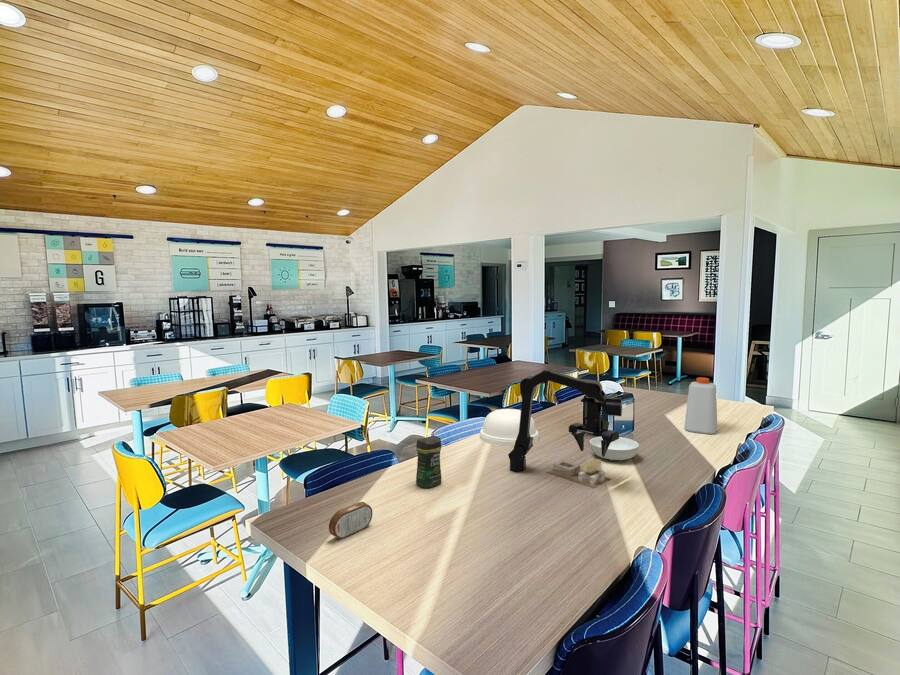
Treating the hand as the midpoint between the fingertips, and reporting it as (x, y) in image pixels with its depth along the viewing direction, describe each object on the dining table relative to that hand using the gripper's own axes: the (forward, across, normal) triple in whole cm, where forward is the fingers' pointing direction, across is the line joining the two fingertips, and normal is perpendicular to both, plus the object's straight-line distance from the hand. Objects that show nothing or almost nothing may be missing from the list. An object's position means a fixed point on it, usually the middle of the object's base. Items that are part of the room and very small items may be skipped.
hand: (592, 453), depth 187 cm
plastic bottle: (+12, -1, -106) cm, 107 cm away
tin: (+12, +29, +89) cm, 94 cm away
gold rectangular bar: (+10, 0, 0) cm, 11 cm away
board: (+11, +6, 0) cm, 13 cm away
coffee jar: (+12, +42, +47) cm, 64 cm away
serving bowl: (+12, +9, -33) cm, 36 cm away
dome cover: (+12, +61, -22) cm, 66 cm away
